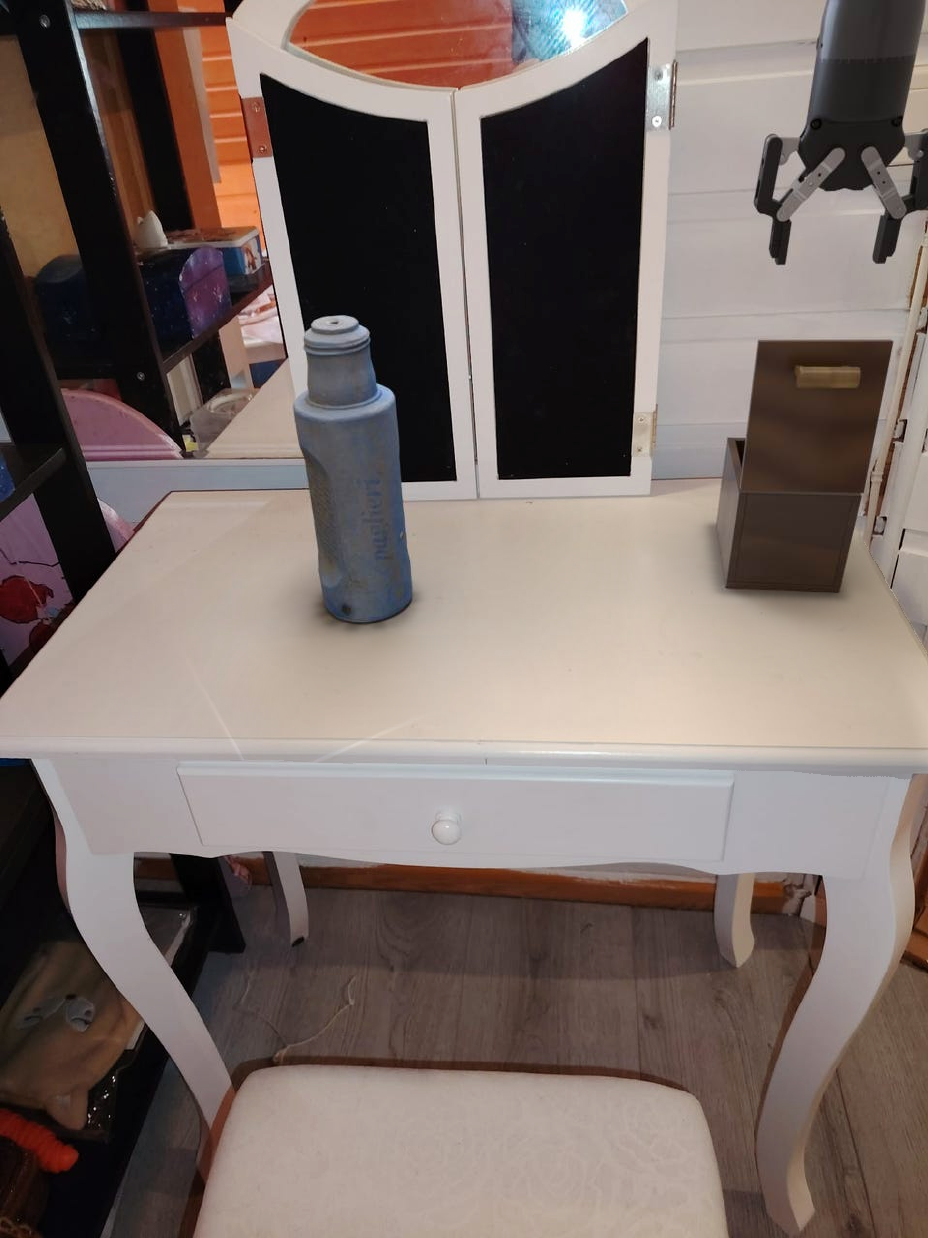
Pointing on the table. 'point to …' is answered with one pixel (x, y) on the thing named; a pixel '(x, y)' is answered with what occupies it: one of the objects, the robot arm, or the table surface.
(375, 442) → the bottle
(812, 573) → the chest
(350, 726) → the table surface
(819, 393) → the lid
